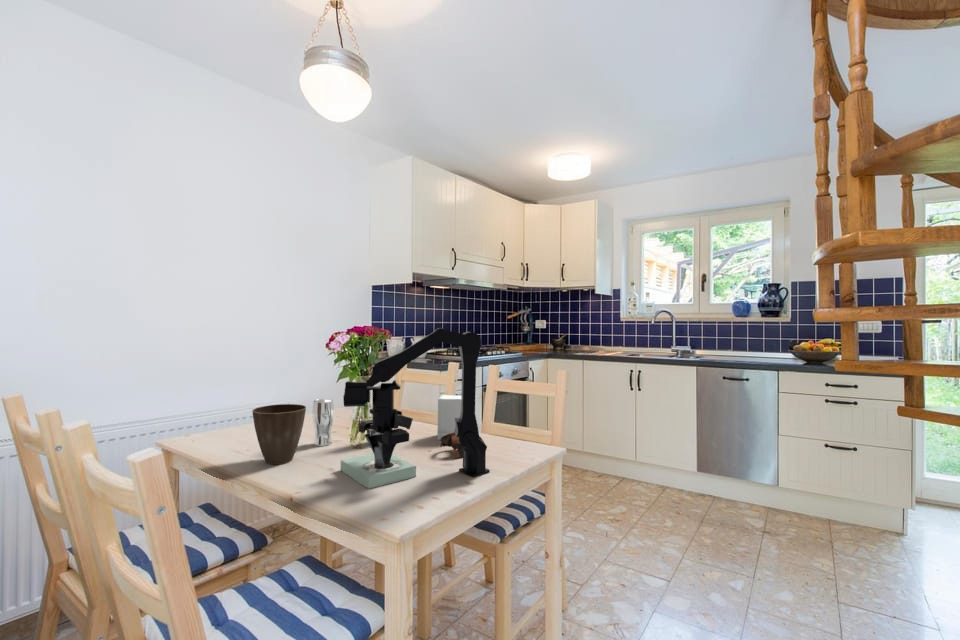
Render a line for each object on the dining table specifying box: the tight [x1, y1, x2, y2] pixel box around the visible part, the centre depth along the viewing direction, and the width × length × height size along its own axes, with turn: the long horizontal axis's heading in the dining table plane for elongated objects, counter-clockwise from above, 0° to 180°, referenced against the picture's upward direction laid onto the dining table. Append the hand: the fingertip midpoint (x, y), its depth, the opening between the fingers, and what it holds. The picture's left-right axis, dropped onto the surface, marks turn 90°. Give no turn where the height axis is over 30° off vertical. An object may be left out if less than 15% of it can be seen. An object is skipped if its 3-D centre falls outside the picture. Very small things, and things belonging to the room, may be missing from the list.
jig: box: [340, 452, 417, 490], centre depth 123 cm, size 18×14×3 cm
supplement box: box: [437, 394, 462, 441], centre depth 162 cm, size 9×9×15 cm
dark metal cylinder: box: [374, 445, 391, 469], centre depth 121 cm, size 4×4×6 cm
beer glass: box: [311, 398, 335, 447], centre depth 153 cm, size 7×7×15 cm
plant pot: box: [251, 403, 307, 465], centre depth 134 cm, size 15×15×16 cm
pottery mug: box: [439, 432, 466, 460], centre depth 143 cm, size 12×10×8 cm
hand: (382, 462), depth 121 cm, fingers closed on dark metal cylinder, 4 cm apart
